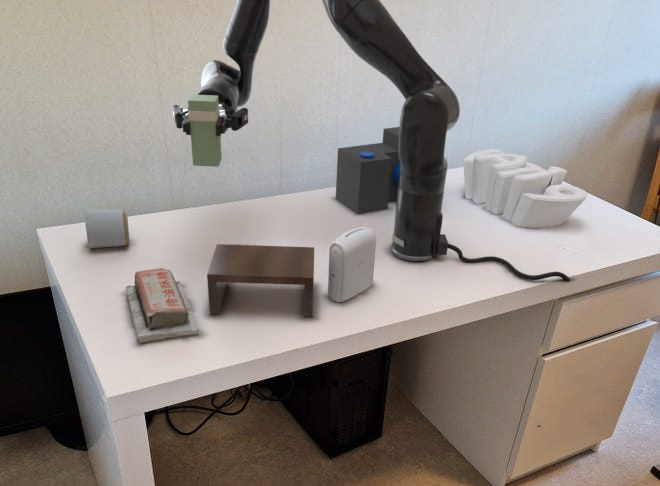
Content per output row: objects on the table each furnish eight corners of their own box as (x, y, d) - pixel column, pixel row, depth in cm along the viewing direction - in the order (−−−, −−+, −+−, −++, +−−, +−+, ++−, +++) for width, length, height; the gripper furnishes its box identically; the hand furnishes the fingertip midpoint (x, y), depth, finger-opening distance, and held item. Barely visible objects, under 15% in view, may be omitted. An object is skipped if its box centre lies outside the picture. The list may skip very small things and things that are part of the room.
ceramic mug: (131, 251, 135) (126, 215, 131) (89, 254, 133) (82, 218, 129) (129, 230, 144) (125, 196, 140) (90, 233, 142) (83, 199, 138)
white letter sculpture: (445, 186, 175) (451, 146, 169) (495, 179, 181) (503, 140, 175) (533, 238, 149) (543, 193, 143) (588, 228, 156) (600, 184, 150)
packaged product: (122, 269, 118) (178, 262, 122) (125, 293, 121) (180, 286, 124) (134, 319, 105) (197, 310, 108) (138, 345, 108) (199, 335, 111)
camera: (369, 222, 153) (374, 154, 144) (335, 198, 164) (338, 133, 155) (455, 206, 163) (465, 141, 154) (418, 185, 175) (425, 123, 166)
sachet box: (222, 159, 119) (218, 95, 113) (219, 166, 116) (215, 101, 110) (196, 158, 119) (191, 94, 113) (192, 165, 116) (187, 100, 110)
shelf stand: (313, 285, 127) (314, 247, 122) (312, 317, 117) (313, 277, 112) (218, 282, 126) (216, 243, 122) (210, 315, 116) (206, 274, 112)
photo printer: (341, 305, 121) (345, 243, 114) (324, 297, 123) (326, 235, 116) (375, 286, 128) (381, 226, 121) (358, 278, 130) (362, 219, 123)
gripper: (176, 81, 123) (157, 104, 109) (253, 84, 124) (244, 108, 110) (180, 122, 128) (162, 150, 114) (254, 125, 128) (246, 153, 114)
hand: (202, 129), depth 112 cm, fingers closed on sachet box, 4 cm apart
